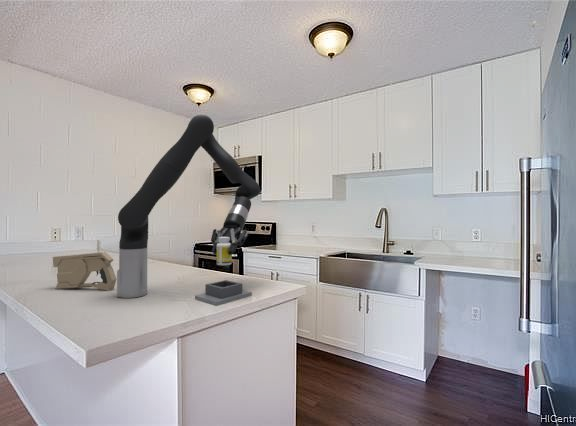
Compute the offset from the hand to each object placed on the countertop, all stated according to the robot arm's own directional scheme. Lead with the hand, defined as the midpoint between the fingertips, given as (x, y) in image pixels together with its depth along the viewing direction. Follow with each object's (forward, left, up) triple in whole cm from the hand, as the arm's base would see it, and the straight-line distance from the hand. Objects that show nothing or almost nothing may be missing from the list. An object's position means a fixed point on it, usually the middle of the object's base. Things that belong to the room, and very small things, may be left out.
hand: (221, 253), depth 106 cm
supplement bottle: (+1, +2, -4) cm, 5 cm away
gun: (-54, +22, -16) cm, 61 cm away
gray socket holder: (+1, +2, -16) cm, 16 cm away
